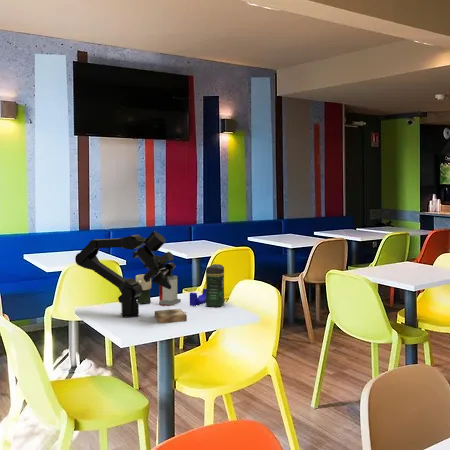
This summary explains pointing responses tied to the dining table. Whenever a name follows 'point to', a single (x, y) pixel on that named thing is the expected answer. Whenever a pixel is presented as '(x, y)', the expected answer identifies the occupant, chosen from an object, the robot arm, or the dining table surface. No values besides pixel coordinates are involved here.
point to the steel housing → (170, 292)
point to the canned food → (161, 294)
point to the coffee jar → (215, 285)
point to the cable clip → (197, 298)
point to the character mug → (144, 289)
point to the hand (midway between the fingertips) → (173, 287)
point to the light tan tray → (170, 316)
